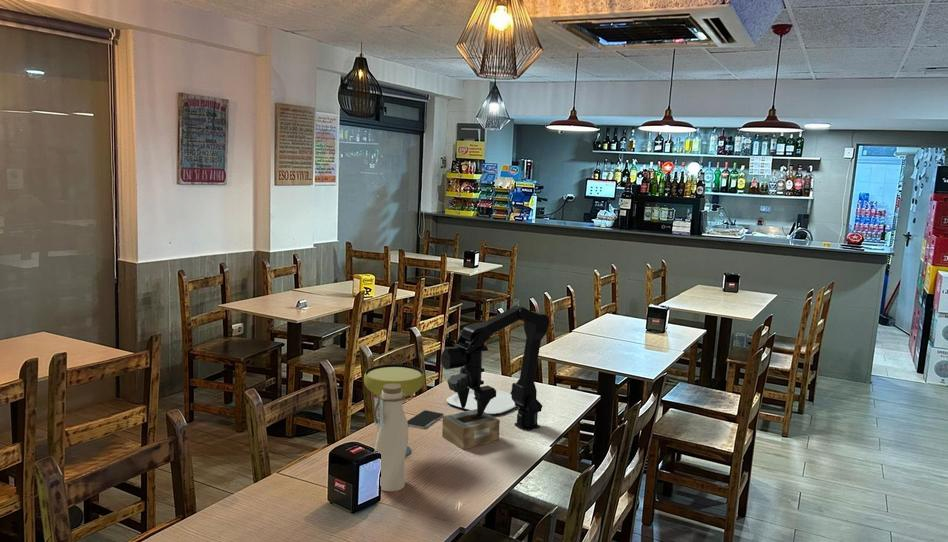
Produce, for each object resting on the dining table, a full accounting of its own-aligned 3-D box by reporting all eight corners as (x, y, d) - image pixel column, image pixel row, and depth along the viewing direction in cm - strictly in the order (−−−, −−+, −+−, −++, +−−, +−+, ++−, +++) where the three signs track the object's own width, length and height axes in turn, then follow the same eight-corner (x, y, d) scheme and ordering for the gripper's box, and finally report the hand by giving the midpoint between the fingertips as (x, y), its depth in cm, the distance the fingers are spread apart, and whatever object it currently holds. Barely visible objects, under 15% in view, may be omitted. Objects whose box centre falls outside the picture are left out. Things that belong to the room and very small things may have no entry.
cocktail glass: (416, 437, 218) (418, 362, 214) (428, 460, 201) (430, 379, 197) (360, 442, 213) (360, 365, 209) (367, 466, 196) (368, 383, 192)
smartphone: (444, 413, 239) (424, 427, 225) (444, 417, 239) (424, 430, 225) (424, 409, 242) (403, 422, 228) (424, 413, 242) (403, 426, 229)
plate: (438, 404, 251) (438, 400, 250) (477, 388, 271) (477, 384, 271) (495, 420, 236) (495, 416, 236) (531, 402, 257) (531, 397, 257)
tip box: (477, 428, 227) (477, 408, 226) (499, 440, 217) (499, 419, 216) (442, 436, 219) (442, 416, 218) (463, 449, 209) (463, 428, 208)
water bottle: (390, 498, 177) (391, 395, 173) (364, 488, 182) (365, 388, 178) (414, 483, 186) (415, 385, 182) (388, 475, 190) (389, 379, 186)
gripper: (435, 361, 218) (434, 407, 220) (468, 376, 203) (467, 426, 205) (464, 356, 224) (463, 402, 226) (498, 371, 209) (496, 419, 211)
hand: (471, 412), depth 217 cm, fingers open, 9 cm apart
